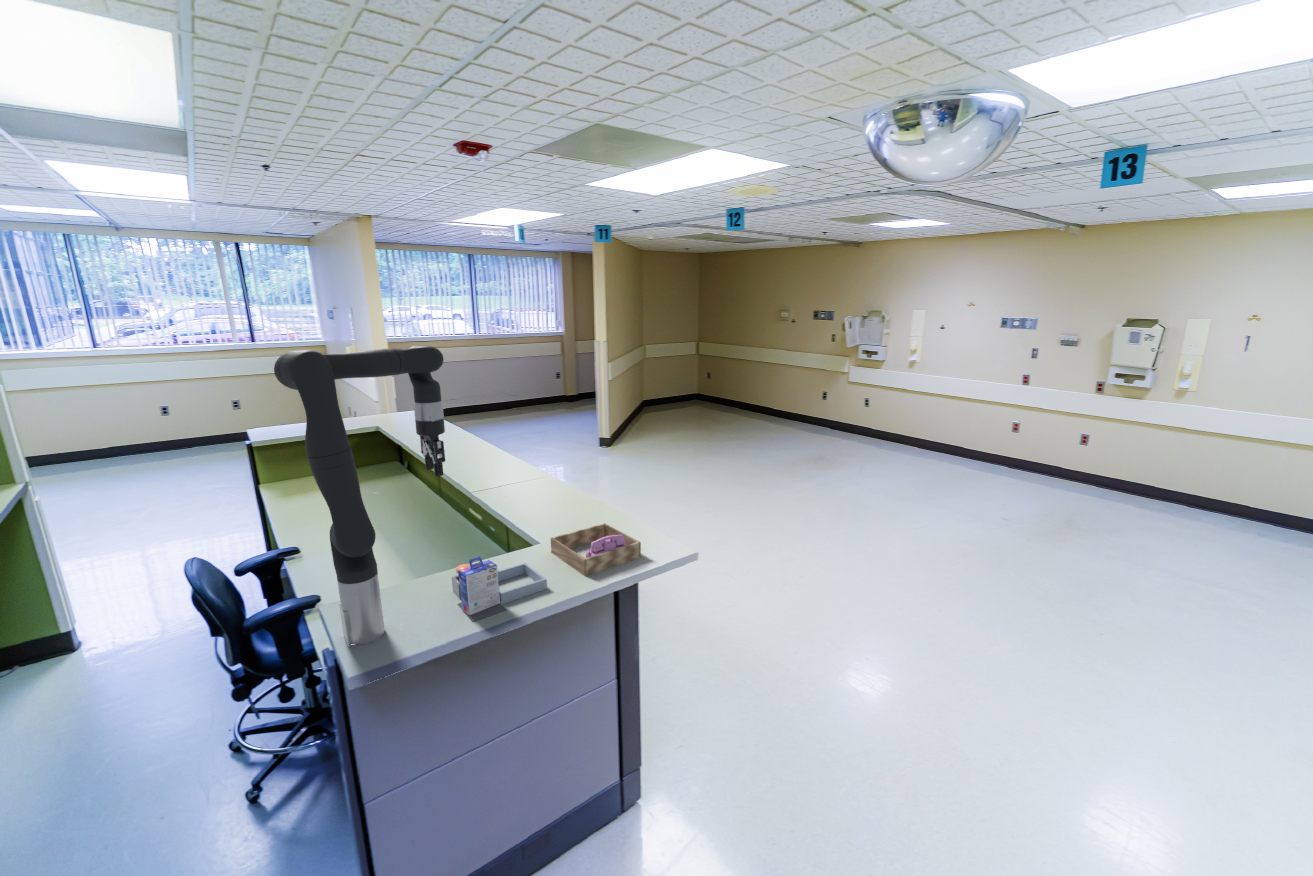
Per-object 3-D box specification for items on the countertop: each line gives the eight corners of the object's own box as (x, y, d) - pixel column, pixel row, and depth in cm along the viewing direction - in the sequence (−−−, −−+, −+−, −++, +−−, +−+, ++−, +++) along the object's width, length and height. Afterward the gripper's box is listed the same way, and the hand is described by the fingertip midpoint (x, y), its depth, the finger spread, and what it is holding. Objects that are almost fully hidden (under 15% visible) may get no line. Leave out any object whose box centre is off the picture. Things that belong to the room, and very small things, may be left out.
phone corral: (584, 577, 179) (584, 559, 178) (551, 553, 196) (550, 537, 195) (640, 558, 193) (640, 542, 191) (604, 538, 210) (604, 523, 209)
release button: (461, 597, 166) (459, 572, 164) (455, 591, 169) (453, 566, 167) (476, 592, 168) (474, 568, 167) (470, 586, 172) (468, 562, 170)
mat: (472, 622, 153) (472, 621, 153) (457, 605, 162) (457, 603, 162) (507, 610, 159) (507, 609, 159) (490, 594, 168) (490, 593, 168)
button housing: (459, 600, 165) (458, 584, 164) (452, 592, 169) (451, 577, 168) (479, 593, 168) (478, 578, 167) (472, 586, 173) (471, 571, 172)
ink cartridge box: (491, 597, 166) (488, 551, 162) (501, 603, 162) (498, 557, 159) (460, 609, 159) (456, 562, 156) (469, 616, 155) (465, 568, 152)
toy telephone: (621, 555, 195) (621, 529, 193) (631, 562, 190) (630, 534, 188) (575, 568, 185) (574, 540, 183) (584, 575, 180) (583, 547, 178)
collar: (501, 604, 162) (501, 593, 161) (482, 585, 173) (482, 575, 172) (547, 589, 171) (546, 579, 170) (526, 572, 182) (525, 562, 181)
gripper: (408, 415, 160) (413, 469, 164) (423, 422, 149) (428, 480, 153) (435, 412, 165) (439, 465, 168) (451, 419, 154) (455, 475, 157)
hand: (434, 472), depth 160 cm, fingers open, 8 cm apart
